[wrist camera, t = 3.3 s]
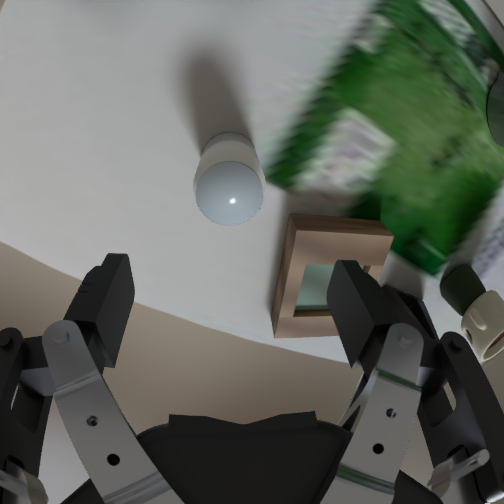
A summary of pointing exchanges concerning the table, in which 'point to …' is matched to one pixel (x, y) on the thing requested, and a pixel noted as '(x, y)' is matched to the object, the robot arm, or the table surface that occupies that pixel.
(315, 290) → the wooden frame
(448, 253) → the table surface
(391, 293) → the phone stand
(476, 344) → the character mug
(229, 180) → the white rounded cylinder
